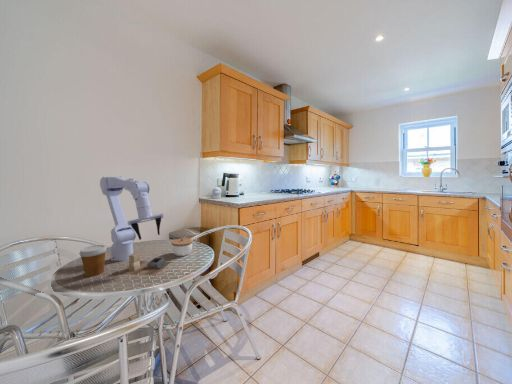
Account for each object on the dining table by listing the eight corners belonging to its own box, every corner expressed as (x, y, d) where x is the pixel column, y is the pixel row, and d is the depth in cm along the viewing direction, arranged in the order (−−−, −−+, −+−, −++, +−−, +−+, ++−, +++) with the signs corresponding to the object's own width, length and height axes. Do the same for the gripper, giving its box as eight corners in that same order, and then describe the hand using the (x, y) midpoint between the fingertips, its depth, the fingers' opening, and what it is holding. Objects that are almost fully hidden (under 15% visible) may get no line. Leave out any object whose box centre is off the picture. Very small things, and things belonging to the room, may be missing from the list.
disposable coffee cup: (94, 281, 89) (92, 252, 88) (75, 279, 90) (73, 251, 89) (113, 270, 98) (111, 245, 97) (95, 269, 100) (93, 244, 99)
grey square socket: (144, 268, 98) (144, 263, 98) (153, 262, 105) (153, 257, 105) (159, 269, 98) (159, 263, 98) (167, 262, 105) (166, 257, 105)
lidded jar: (186, 259, 111) (185, 241, 110) (167, 258, 113) (167, 240, 112) (196, 252, 121) (195, 236, 121) (179, 251, 123) (178, 235, 123)
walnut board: (116, 275, 94) (116, 273, 94) (136, 262, 108) (136, 260, 107) (156, 276, 92) (156, 274, 92) (171, 263, 106) (171, 261, 106)
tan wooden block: (129, 270, 96) (128, 255, 96) (135, 266, 100) (134, 252, 100) (134, 270, 96) (133, 255, 96) (139, 267, 100) (139, 252, 99)
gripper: (124, 210, 92) (130, 242, 91) (160, 203, 98) (167, 232, 97) (126, 212, 98) (132, 241, 97) (160, 205, 104) (166, 232, 103)
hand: (149, 237), depth 98 cm, fingers open, 7 cm apart
